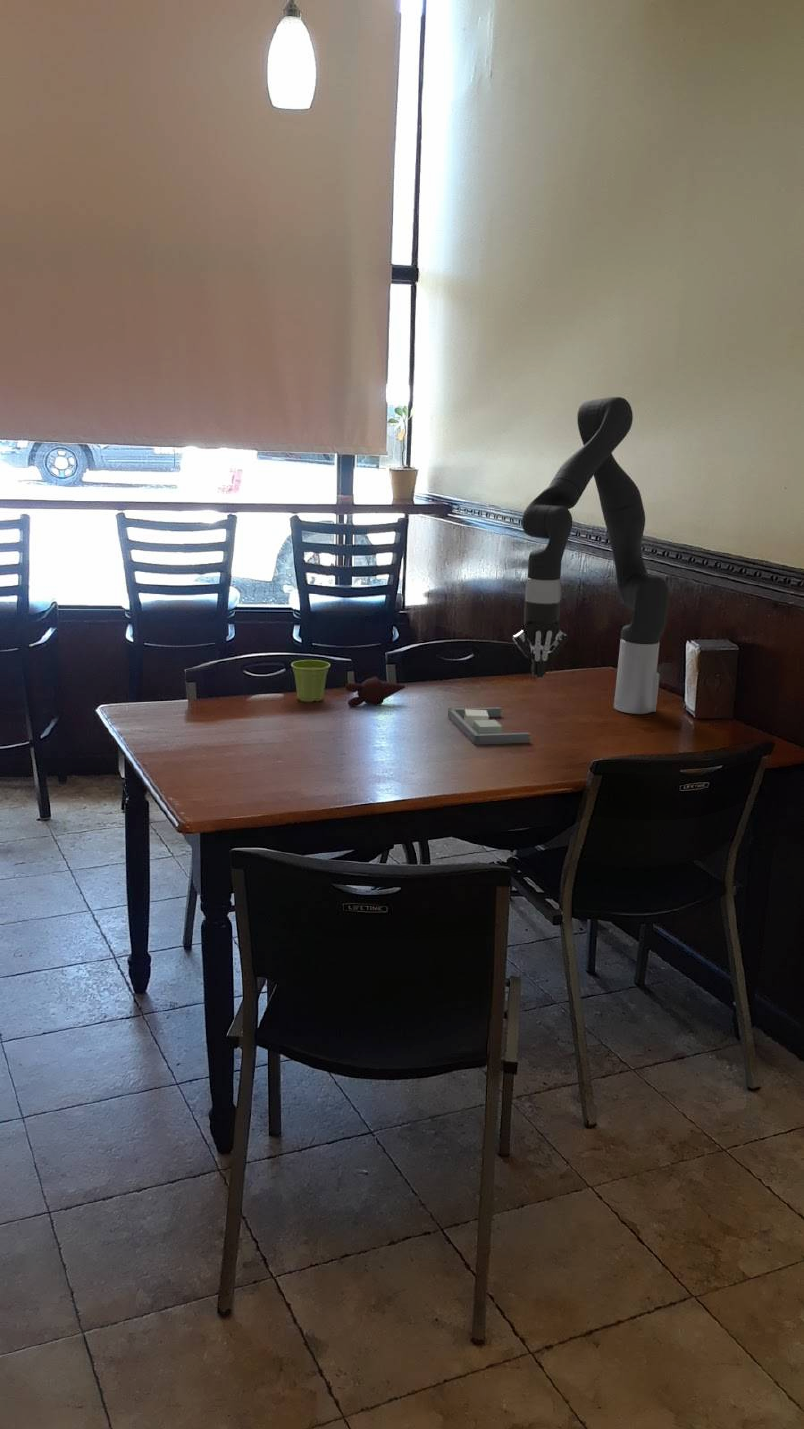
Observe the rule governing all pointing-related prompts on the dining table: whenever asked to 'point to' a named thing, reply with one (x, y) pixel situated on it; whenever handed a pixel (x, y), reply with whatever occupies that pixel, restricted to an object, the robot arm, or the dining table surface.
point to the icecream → (372, 691)
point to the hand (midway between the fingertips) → (538, 676)
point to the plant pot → (310, 679)
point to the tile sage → (487, 727)
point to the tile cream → (475, 716)
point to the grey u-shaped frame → (476, 738)
